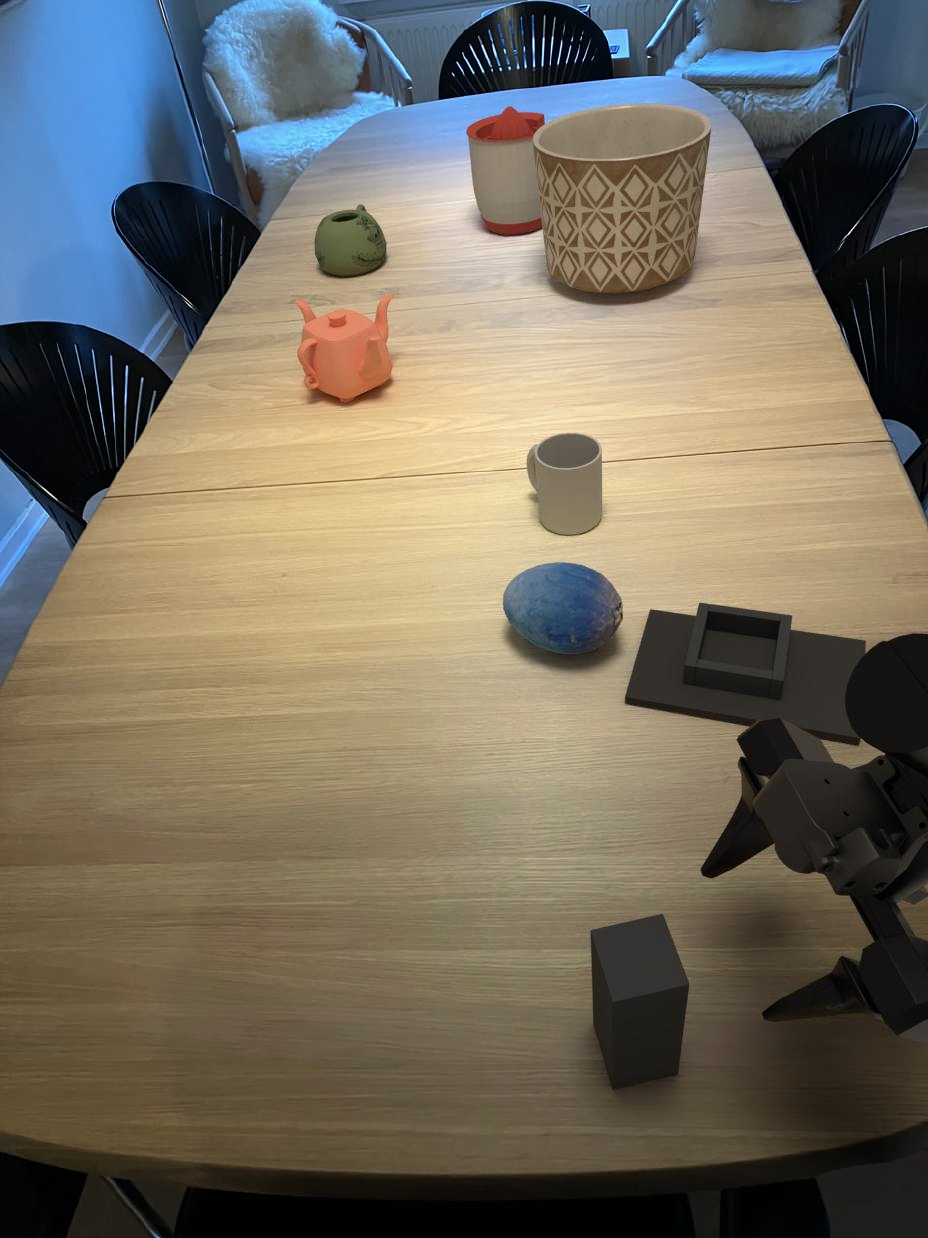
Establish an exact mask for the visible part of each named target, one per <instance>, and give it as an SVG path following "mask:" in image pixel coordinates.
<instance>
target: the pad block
mask: <svg viewBox="0 0 928 1238" xmlns="http://www.w3.org/2000/svg"><path fill="white" fill-rule="evenodd" d="M590 961H591V963H590V964H591V993H592V994H591V996H592V1023H593V1027H594V1031H595V1035H596V1038H597V1041H598V1045H599V1048H600V1052H601V1056H602V1059H603V1062H604V1066H605V1070H606V1073H607V1076H608V1079H609V1083H610V1087H611V1089H612V1090H617V1089H621V1088H625V1087H629V1086H633V1085H637V1084H642V1083H646V1082H650V1081H655V1080H658V1079H662V1078H663V1079H664V1078H667V1077H671V1076H675V1075H678V1074H679V1070H680V1061H681V1055H682V1046H683V1038H684V1031H685V1029H684V1028H685V1021H686V1015H687V1007H688V998H689V991H690V982H689V979H688V976H687V973H686V971H685V968H684V966H683V963H682V960H681V957H680V954H679V952H678V950H677V947H676V944H675V941H674V939H673V935H672V933H671V931H670V928H669V926H668V923H667V920H666V918H665V915H664V913H658V914H655V915H650V916H646V917H642V918H638V919H632V920H629V921H624V922H619V923H616V924H615V923H614V924H612V925H606V926H603V927H598V928H593V929H591V930H590Z"/></svg>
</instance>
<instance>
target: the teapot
mask: <svg viewBox="0 0 928 1238" xmlns="http://www.w3.org/2000/svg"><path fill="white" fill-rule="evenodd" d="M393 297H394V293H389V294H387V295H385V296H383V297H382V298H381V299H380V300H379V302H378V304H377V307H376V310H375V311H376V312H375V318H374V321H373V320H372V319H371V318H370V317H368V316H367V315H365V314H363V313H360V312H357V311H355V310H351V309H348V308H338V309H335V310H332V311H330V312H327V313H325V314H323V315H321V316H317V317H316V313H314V311H313V309H312V308H311V307H310V305H309V304H308V303H307V302H306V301H304V300H302V299H296V300H295V304H296V306H298V309H299V310H300V311H301V314H302V316H303V319H304V324H303V326H302V330H301V339H300V340H301V342H300V345H299V346H298V348H297V351H296V355H297V359H298V362H299V364H300V365H301V366H302V370H303V372H304V375H305V376H304V378H303V384H304V386H305V387H306V389H310V390H315V389H316V388H317V389H318V390H319V391H321V392H323V393H325V394H328V395H329V396H330V395H331V396H333V397H336V398H339V402H341V403H350V402H352V401H354V400H355V398H356V397H357V396H359V395H362V394H364V393H366V392H368V391H370V390H372V389H374V388H379V387H382V386H383V385H384V384H385V382H386V381H388V380H389V379H390V377H391V375H392V370H393V362H392V357H391V353H390V351H389V348H388V345H387V342H388V340H389V322H388V308H389V305H390V302H391V300H392V299H393Z"/></svg>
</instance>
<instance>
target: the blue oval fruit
mask: <svg viewBox="0 0 928 1238" xmlns="http://www.w3.org/2000/svg"><path fill="white" fill-rule="evenodd" d="M502 609H503V612H504V615H505V617H506V619H507V621H508V623H509V624H510V625H511V626H512V627H513V629H515V630H516V631H517V633H519V634H520V635H521V636H522V637H523V638H524V639H525V640H527V641H529V642H531V643H532V645H535V646H536V647H538V648H541V649H543V650H546V651H549V652H552V653H556V654H563V655H579V654H585V653H588V652H590V651H594V650H596V649H598V648H600V647H602V646H603V645H605V644H606V643H608V642H610V640H612V639H613V638H614V636H615V635H616V633H617V631H618V629H619V627H620V626H621V623H622V622H623V619H624V611H623V610H624V604H623V601H622V597H621V595H620V594H619V593H618V591H617V589H616V588H615V586H614V585H613V583H612V582H610V580H609V579H608V578H607V577H606V576H605V575H604V574H602V573H601V572H598V571H597V570H595V569H593V568H591V567H589V566H586V565H583V564H580V563H579V564H578V563H574V562H566V561H565V562H564V561H562V562H561V561H560V562H559V561H558V562H550V563H549V562H548V563H542V564H538V565H535V566H533V567H530V568H528V569H525V570H523V571H522V572H520V573H518V574H517V575H515V576H514V577H513V578H512V579H511V580H510V582H509V583H508V584H507V586H506V588H505V590H504V591H503V595H502Z"/></svg>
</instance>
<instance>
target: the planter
mask: <svg viewBox="0 0 928 1238" xmlns="http://www.w3.org/2000/svg"><path fill="white" fill-rule="evenodd" d="M711 134H712V122H711V120H710V118H709V117H708V116H707V115H705V114H704V113H702V112H700V111H698V110H695V109H692V108H689V107H685V106H680V105H674V104H664V103H623V104H612V105H605V106H597V107H591V108H587V109H582V110H579V111H575V112H572V113H569V114H568V113H567V114H565V115H562V116H559V117H557V118H555V119H552V120H550V121H548V122H545V125H543V126H542V127H540V128H539V129H538V130H537V131H536V132H535V134H534V136H533V149H534V158H535V166H536V175H537V184H538V193H539V202H540V211H541V220H542V228H541V229H542V238H543V246H544V254H545V255H544V256H545V261H546V262H545V265H546V268H547V270H548V273H549V274H550V275H551V276H552V277H553V278H554V280H556V281H557V282H559V283H560V284H562V285H564V286H567V287H570V288H572V289H577V290H581V291H585V292H590V293H593V294H594V293H595V294H598V295H609V296H610V295H611V296H612V295H613V296H619V295H630V294H636V293H639V292H644V291H647V290H649V289H653V288H656V287H660V286H662V285H665V284H668V283H670V282H673V281H674V280H676V279H678V278H679V277H681V276H682V275H684V274H685V273H686V272H687V271H688V270H689V269H690V268H691V266H692V265H693V263H694V261H695V258H696V253H697V252H696V251H697V244H698V235H699V228H700V222H701V221H700V220H701V212H702V205H703V204H702V203H703V197H704V189H705V181H706V173H707V165H708V158H709V151H710V149H709V148H710V142H711Z"/></svg>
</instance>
